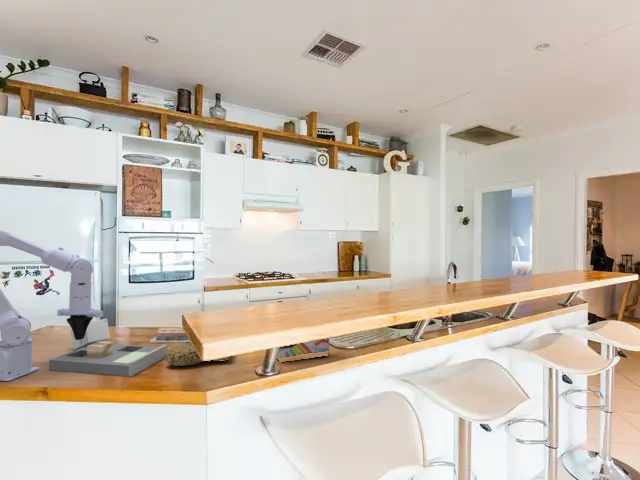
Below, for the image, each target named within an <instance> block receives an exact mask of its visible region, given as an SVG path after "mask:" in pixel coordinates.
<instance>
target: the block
mask: <svg viewBox="0 0 640 480" xmlns="http://www.w3.org/2000/svg"><path fill="white" fill-rule="evenodd" d="M113 344H115V342H114V341H99V342H96V343H93V344H91V345H88V346H87V357H94V358H103V357H105V356H107V355H110V354H112V353H113Z"/></svg>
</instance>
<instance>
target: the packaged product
mask: <svg viewBox="0 0 640 480" xmlns="http://www.w3.org/2000/svg"><path fill="white" fill-rule="evenodd" d="M183 328H184V327H158V329H157V331H156V332H155V334H154V335H155V336H154V337H152V338H151V339H150V340H149V341H148V344H187V343H186V342H189V343H188V344H192V343H191V342H190V340H189V338H188V336H187V334H186V333H185V331H184V330H183Z"/></svg>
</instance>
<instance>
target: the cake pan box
mask: <svg viewBox="0 0 640 480" xmlns="http://www.w3.org/2000/svg"><path fill="white" fill-rule="evenodd" d="M325 351H329V352H330V337H329V338H327V339H321V340H315V341H310V342H305V343H300V344H295V345H290V346H284V347H280V348H279V354H278V357H279V358H282V357H289V356H296V355H301V354H309V353H318V352H325Z"/></svg>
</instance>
